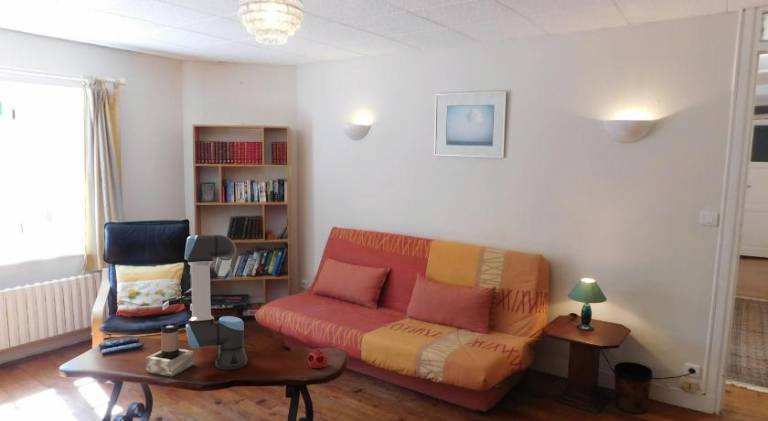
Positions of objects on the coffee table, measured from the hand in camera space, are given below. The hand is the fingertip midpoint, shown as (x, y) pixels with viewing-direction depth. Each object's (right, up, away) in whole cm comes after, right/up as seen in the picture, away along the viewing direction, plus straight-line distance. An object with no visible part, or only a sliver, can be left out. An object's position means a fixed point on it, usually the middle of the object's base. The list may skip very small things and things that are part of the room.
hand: (177, 307), depth 252 cm
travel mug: (0, -27, -7) cm, 28 cm away
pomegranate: (+70, -29, 0) cm, 76 cm away
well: (0, -28, -7) cm, 29 cm away
